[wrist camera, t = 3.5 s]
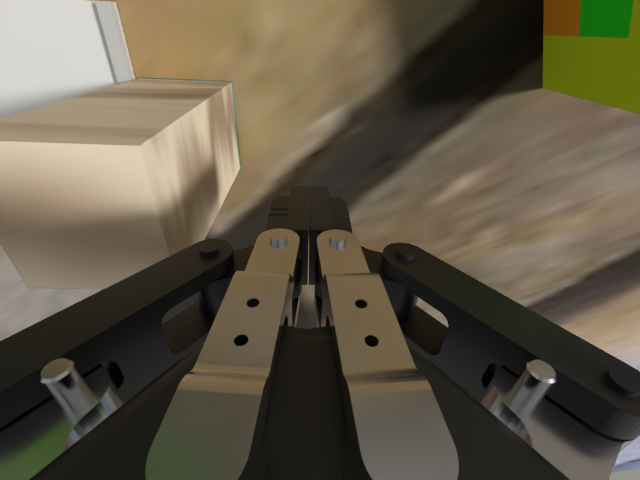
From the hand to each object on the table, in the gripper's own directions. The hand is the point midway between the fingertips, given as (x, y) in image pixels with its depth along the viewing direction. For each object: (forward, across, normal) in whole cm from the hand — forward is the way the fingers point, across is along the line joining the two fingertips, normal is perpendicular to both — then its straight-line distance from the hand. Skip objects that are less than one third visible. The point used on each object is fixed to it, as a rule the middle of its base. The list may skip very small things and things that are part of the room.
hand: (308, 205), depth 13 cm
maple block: (+12, +8, 0) cm, 15 cm away
